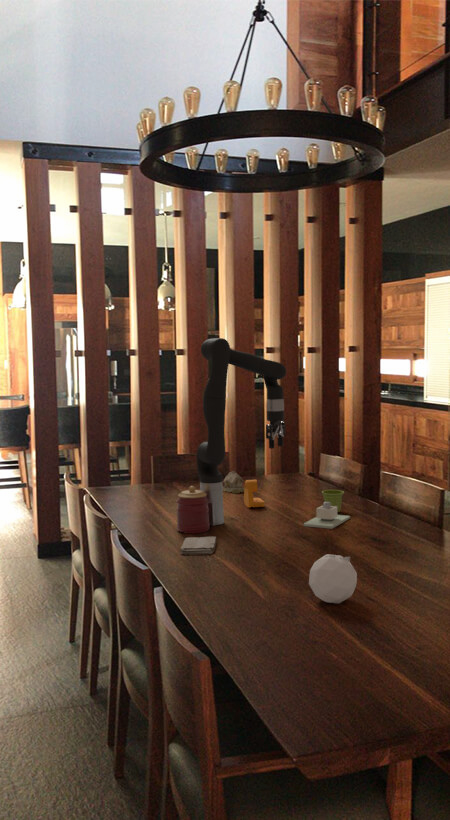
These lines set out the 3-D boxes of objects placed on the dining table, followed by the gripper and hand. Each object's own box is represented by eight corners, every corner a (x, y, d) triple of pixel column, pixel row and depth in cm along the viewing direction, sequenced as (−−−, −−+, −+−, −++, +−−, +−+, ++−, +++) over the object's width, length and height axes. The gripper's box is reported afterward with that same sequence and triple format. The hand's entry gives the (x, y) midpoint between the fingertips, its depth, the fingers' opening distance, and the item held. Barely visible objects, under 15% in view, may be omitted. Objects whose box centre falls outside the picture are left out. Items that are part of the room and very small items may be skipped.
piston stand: (331, 528, 298) (331, 508, 297) (303, 526, 304) (303, 506, 303) (350, 518, 315) (349, 499, 314) (322, 515, 321) (322, 496, 320)
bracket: (265, 508, 340) (264, 481, 339) (249, 509, 339) (248, 482, 338) (259, 503, 351) (258, 477, 350) (244, 504, 349) (243, 478, 348)
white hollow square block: (331, 519, 305) (331, 509, 304) (316, 518, 308) (316, 508, 308) (337, 516, 310) (337, 506, 310) (322, 514, 313) (322, 505, 313)
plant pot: (343, 509, 332) (343, 489, 332) (344, 514, 323) (344, 493, 322) (321, 509, 333) (321, 489, 333) (322, 514, 324) (322, 494, 323)
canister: (205, 534, 294) (204, 489, 293) (173, 533, 297) (171, 488, 296) (213, 526, 307) (211, 483, 306) (181, 526, 310) (180, 482, 308)
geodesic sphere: (364, 572, 220) (335, 536, 219) (375, 587, 206) (344, 548, 205) (325, 603, 220) (296, 567, 219) (334, 620, 207) (302, 582, 206)
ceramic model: (217, 490, 387) (217, 470, 386) (237, 487, 392) (236, 468, 392) (231, 494, 375) (230, 474, 374) (251, 491, 380) (250, 471, 379)
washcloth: (179, 556, 266) (179, 547, 266) (184, 543, 284) (184, 535, 284) (214, 555, 266) (213, 546, 265) (216, 542, 283) (216, 534, 283)
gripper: (275, 411, 320) (276, 449, 321) (290, 408, 332) (291, 445, 333) (259, 410, 323) (260, 449, 325) (274, 408, 336) (275, 444, 337)
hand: (276, 447), depth 329 cm, fingers open, 8 cm apart
